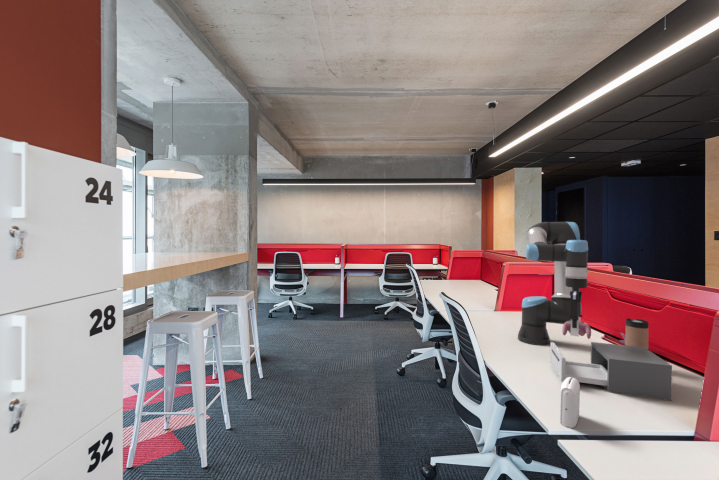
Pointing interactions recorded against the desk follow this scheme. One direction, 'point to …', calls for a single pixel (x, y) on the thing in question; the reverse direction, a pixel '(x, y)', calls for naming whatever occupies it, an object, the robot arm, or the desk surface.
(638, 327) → the travel mug
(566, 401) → the photo printer
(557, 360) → the light grey drawer
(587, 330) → the video game controller
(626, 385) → the box
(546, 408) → the desk surface
